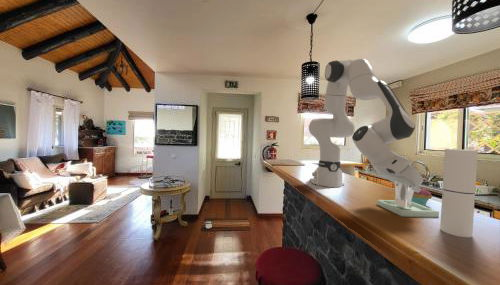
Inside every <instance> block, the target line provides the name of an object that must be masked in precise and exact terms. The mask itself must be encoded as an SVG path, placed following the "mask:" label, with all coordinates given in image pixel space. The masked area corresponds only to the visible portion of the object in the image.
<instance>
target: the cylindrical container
mask: <svg viewBox="0 0 500 285" xmlns="http://www.w3.org/2000/svg"><path fill="white" fill-rule="evenodd" d="M478 152H479V151H478V150H477V149H459V148H457V149H456V148H455V149H454V148H445V149H444V159H443V174H442V175H443V176H442V178H443V179H442V194H441V196H442V197H441V209H440V212H441V213H440V225H439V229H440V230H441V231H442V232H444V233H445V234H448V235H452V236H456V237H459V238H472V237H473V229H474V216H475V201H476V200H475V199H476V197H475V196H476V183H477V171H478V170H477V168H478V154H479V153H478Z"/></svg>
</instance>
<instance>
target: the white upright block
mask: <svg viewBox="0 0 500 285" xmlns="http://www.w3.org/2000/svg"><path fill="white" fill-rule="evenodd" d="M394 186H395V198H394V200H395V201H394V204H393V205H394V206H396V207H398V208H402V209H408V210H410V209H412V205H411V201H412V196H413V193H414V190H413V189H412V188H413V187H412V186H410V185H406V184H403V183H399V182H395V184H394Z"/></svg>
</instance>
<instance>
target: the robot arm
mask: <svg viewBox="0 0 500 285" xmlns="http://www.w3.org/2000/svg"><path fill="white" fill-rule="evenodd" d="M324 69H325V70H324V77H325V79H326V81H327V85H326V89H325V96H324V104H323V107H324V109H325V111H327V112H328V113H330V114H331V115H332V118H322V117H320V118H313V119H311V121H309V124H308V131H309V133H310V135H311V136H313V138H314V139H315V140H316V141H317V142H318V147H319V160H318V164H317V166H318V167H317V168H316V169H315V170H314V171H313V172H312V173H311V176H312V178H309V181H310V180H311V181H310V182H311V184H312V183H313V184H312V185H315V184H316V186H321V187H330V188H340V187H343V186H345V183H344V182H343V171H342V170H341V148H340V146H339V145H338V144H336V143H334V142H332V140H331V138H337V139H338V138H339V139H341V138H349V137H352V138H351V139H352V142H353V143H354V146H355V147H356V148H357V149H358V151H359V152H360V154H362V155H363V156H364V157H365V158H367V159H368V162H369V163H370V164H371V166H372V168H373V169H374V171H375V172H376V174H377V175H378V176H379V177H380V178H382V179H384V180H388V181H390V182H391V183H393V184H394V185H395V182H399V183H403V184H406V185H410V186H412V187H413V188H412V189H413V190H414V191H415V192H419V191H421V189H420V188H421V187H420V186H421V185H422V183H423V182H424V178H423V177H422V175H421V174H420V173H419V171H418V170H417V169H416V168H415V167H414V166H413V165H411V161H410V160H409V159H408V158H407V157H404V156H401V155H399V154H398V153H396V152H394V151H393V150H392V149H391V148H390V147H388V146H387V144H390V143H393V142H395V141H400V140H404V139H407V138H410V137H411V136H412V135H413V133H414V131H415V130H416V124H415V121H414V120H413V118H412V117H411V116H410V114H409V113H408V112H407V111H406V109H405V108H404V106H403V105H402V103H401V102H400V100H399V98H398V97H397V95H396V94H395V92H394V91H393V89H392V88H391V87H390V85H389V84H387V83H386V82H385V81H383V80H378V79H377V77H376V74H375V71H374V69H373V67H372V65H371V64H370V63H369V61H368V60H366V58H358V59H348V60H347V59H346V60H332V61H330V62H328V63H327V64H326V66H325V68H324ZM348 87H349V91H350V93H351V95H352V96H353V97H354V98H355V99H357V100H362V101H371V100H376V99H380V100H381V101H382V103H383V104H384V106H385V108H386V109H387V111H388V115H387V116H386V117H384V118H382V119H380V120H377V121H375V122H374V123H373V122H372V123H371V124H369V125H363V126H360V127H359V128H357V129H355V124H354V123H355V122H353V120H351V118H349V117H348V114H347V113H346V112H347V111H346V101H347V95H348Z"/></svg>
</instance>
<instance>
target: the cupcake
mask: <svg viewBox="0 0 500 285" xmlns="http://www.w3.org/2000/svg"><path fill="white" fill-rule="evenodd" d="M419 188H420V189H421V191H419V192H415V191H414V193H413V196H412V202H414V203H417V204H420V205H422V206H425V207H426V205H427V203H428V201H429V200H430V199H432V197H433V196H432V193H431V192H430V191H429V190H428V189H426V188H421V187H419Z"/></svg>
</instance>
